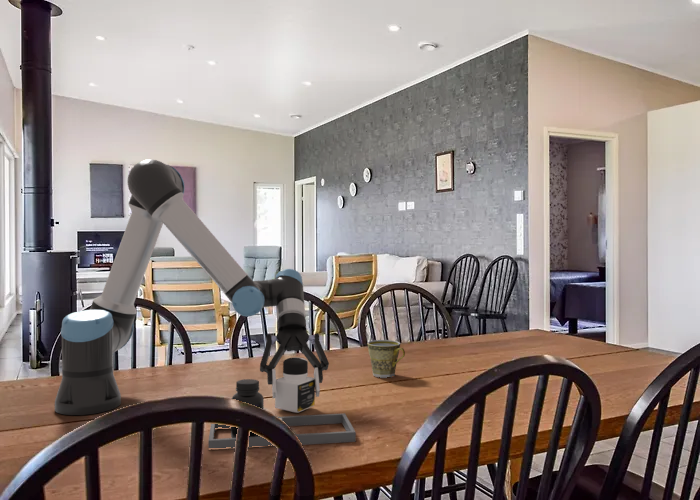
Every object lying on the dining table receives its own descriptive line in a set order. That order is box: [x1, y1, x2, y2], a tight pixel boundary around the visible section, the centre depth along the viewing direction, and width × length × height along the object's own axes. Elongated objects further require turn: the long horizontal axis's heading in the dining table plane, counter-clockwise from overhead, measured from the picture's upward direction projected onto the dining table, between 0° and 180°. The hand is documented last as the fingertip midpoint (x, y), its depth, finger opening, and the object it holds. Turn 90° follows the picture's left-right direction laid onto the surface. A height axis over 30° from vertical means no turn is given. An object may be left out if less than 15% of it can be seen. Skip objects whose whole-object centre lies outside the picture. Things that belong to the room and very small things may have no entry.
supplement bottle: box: [230, 378, 264, 438], centre depth 127 cm, size 7×7×12 cm
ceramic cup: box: [367, 339, 406, 379], centre depth 181 cm, size 13×10×10 cm
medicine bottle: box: [274, 357, 316, 414], centre depth 147 cm, size 7×7×12 cm
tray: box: [207, 412, 357, 449], centre depth 128 cm, size 30×13×2 cm, turn 100°
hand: (296, 394), depth 144 cm, fingers closed on medicine bottle, 10 cm apart
